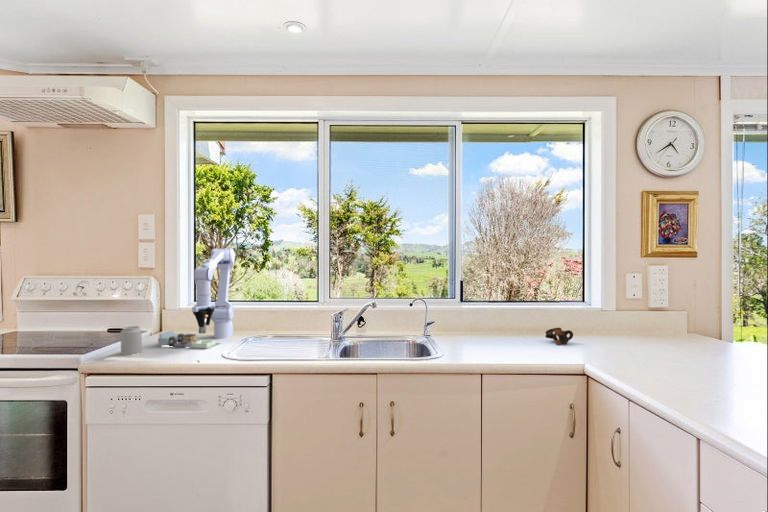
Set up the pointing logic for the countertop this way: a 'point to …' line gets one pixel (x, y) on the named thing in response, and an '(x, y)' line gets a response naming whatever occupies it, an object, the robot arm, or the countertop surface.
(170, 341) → the trolley
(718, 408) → the countertop surface
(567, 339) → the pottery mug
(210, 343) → the tray
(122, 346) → the can
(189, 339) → the wooden cube
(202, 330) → the pin
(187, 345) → the ramp board
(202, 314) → the robot arm
